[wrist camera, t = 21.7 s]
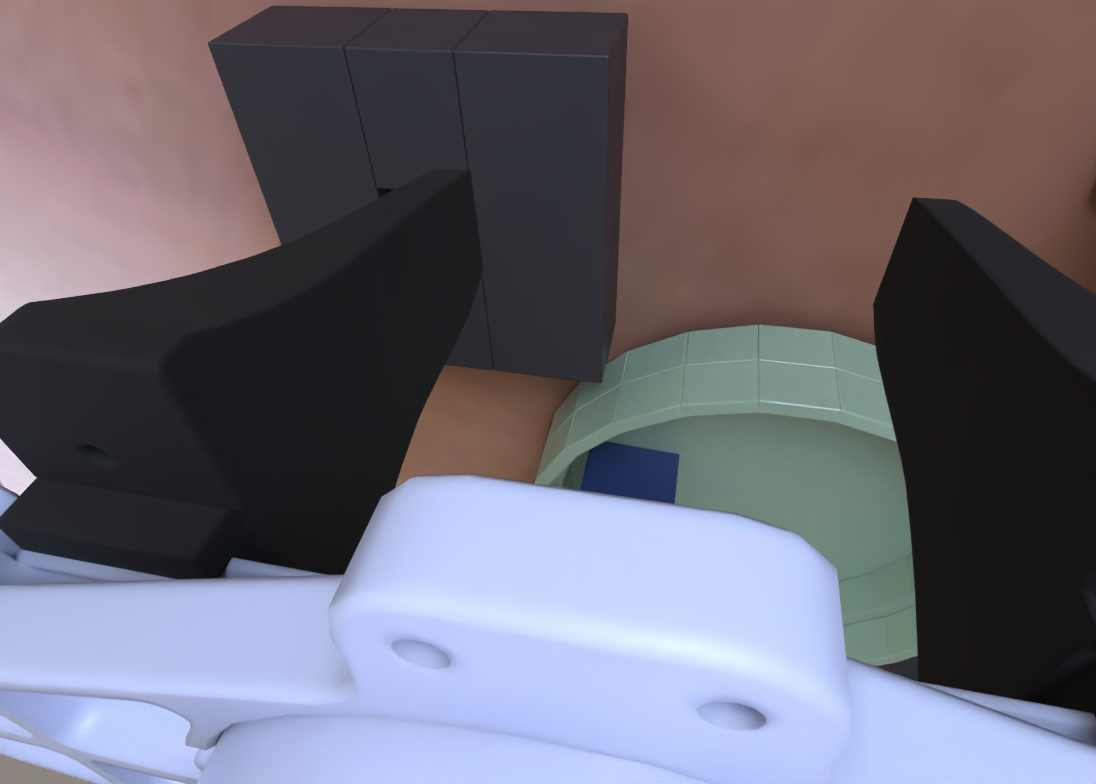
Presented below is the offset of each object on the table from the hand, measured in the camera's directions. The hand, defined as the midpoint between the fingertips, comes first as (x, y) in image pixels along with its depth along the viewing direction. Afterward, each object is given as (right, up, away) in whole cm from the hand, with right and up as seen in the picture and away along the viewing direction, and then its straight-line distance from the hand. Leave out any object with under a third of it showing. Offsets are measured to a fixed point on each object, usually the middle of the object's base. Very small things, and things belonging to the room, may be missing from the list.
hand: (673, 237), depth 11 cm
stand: (-5, +5, +12) cm, 14 cm away
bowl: (+7, -7, +20) cm, 22 cm away
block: (+2, -7, +20) cm, 21 cm away
